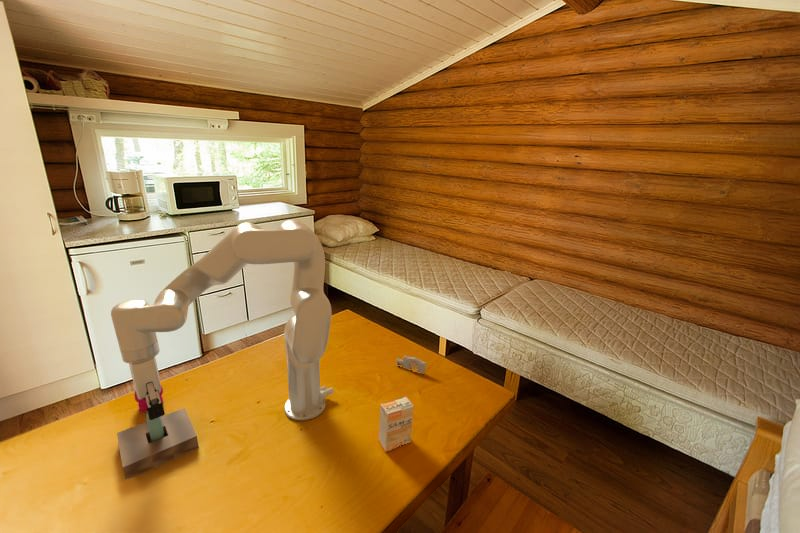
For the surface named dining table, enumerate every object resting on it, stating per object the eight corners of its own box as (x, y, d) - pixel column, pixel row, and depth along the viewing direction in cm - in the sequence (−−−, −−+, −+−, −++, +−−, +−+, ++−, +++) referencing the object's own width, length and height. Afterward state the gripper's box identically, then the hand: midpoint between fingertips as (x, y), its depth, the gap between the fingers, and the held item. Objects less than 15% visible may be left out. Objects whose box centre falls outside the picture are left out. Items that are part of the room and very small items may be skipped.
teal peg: (164, 440, 99) (158, 407, 95) (167, 447, 96) (160, 413, 93) (151, 445, 97) (145, 412, 93) (153, 452, 95) (146, 419, 91)
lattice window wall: (395, 366, 138) (396, 353, 136) (397, 364, 139) (398, 351, 138) (424, 376, 133) (425, 362, 131) (426, 373, 134) (427, 360, 133)
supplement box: (385, 453, 98) (387, 414, 94) (378, 441, 102) (379, 403, 98) (411, 443, 102) (414, 405, 98) (403, 432, 106) (405, 395, 102)
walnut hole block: (186, 418, 107) (184, 407, 105) (198, 447, 97) (196, 435, 96) (119, 444, 96) (116, 433, 95) (125, 480, 87) (122, 467, 85)
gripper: (117, 340, 91) (132, 395, 97) (125, 371, 79) (141, 433, 84) (152, 331, 96) (164, 384, 101) (164, 359, 84) (177, 418, 89)
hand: (154, 406), depth 93 cm, fingers open, 9 cm apart
